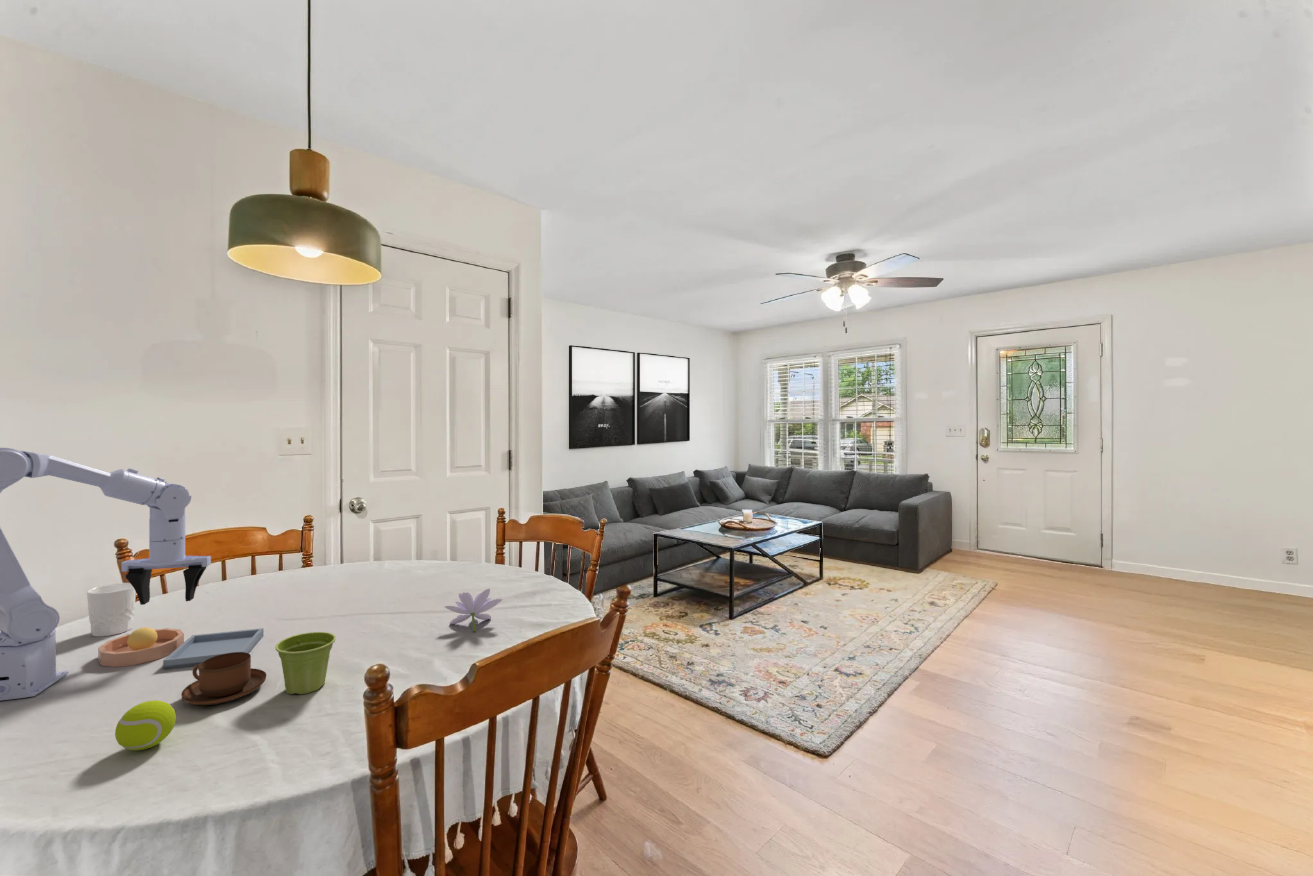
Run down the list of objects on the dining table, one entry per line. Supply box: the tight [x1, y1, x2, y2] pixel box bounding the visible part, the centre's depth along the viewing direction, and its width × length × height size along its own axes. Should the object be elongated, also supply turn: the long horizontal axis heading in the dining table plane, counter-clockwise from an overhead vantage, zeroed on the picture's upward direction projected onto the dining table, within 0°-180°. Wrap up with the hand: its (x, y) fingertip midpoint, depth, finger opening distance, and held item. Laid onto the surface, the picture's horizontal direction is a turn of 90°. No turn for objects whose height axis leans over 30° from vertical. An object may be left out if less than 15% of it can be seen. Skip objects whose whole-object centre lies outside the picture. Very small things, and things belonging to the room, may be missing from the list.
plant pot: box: [274, 631, 337, 695], centre depth 100 cm, size 9×9×9 cm
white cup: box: [86, 582, 137, 637], centre depth 123 cm, size 8×8×10 cm
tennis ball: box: [114, 699, 177, 752], centre depth 81 cm, size 7×7×7 cm
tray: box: [162, 627, 265, 670], centre depth 114 cm, size 13×13×2 cm
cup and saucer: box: [180, 652, 267, 706], centre depth 97 cm, size 12×12×6 cm
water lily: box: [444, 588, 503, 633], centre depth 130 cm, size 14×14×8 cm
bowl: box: [97, 627, 185, 668], centre depth 112 cm, size 13×13×3 cm
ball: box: [127, 627, 157, 650], centre depth 112 cm, size 5×5×5 cm
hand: (167, 601), depth 116 cm, fingers open, 7 cm apart
